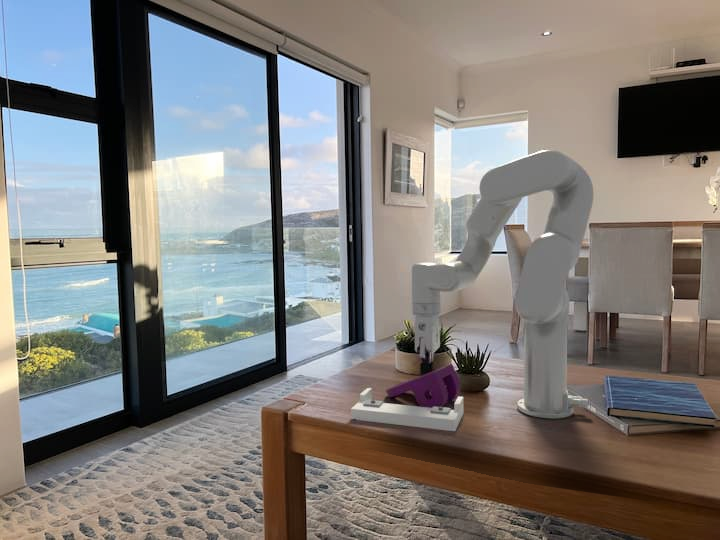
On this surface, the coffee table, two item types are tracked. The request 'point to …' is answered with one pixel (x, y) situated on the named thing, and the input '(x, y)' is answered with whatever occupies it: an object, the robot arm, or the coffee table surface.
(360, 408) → the white bolted base plate
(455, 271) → the robot arm
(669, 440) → the coffee table surface
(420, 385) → the mounting bracket
